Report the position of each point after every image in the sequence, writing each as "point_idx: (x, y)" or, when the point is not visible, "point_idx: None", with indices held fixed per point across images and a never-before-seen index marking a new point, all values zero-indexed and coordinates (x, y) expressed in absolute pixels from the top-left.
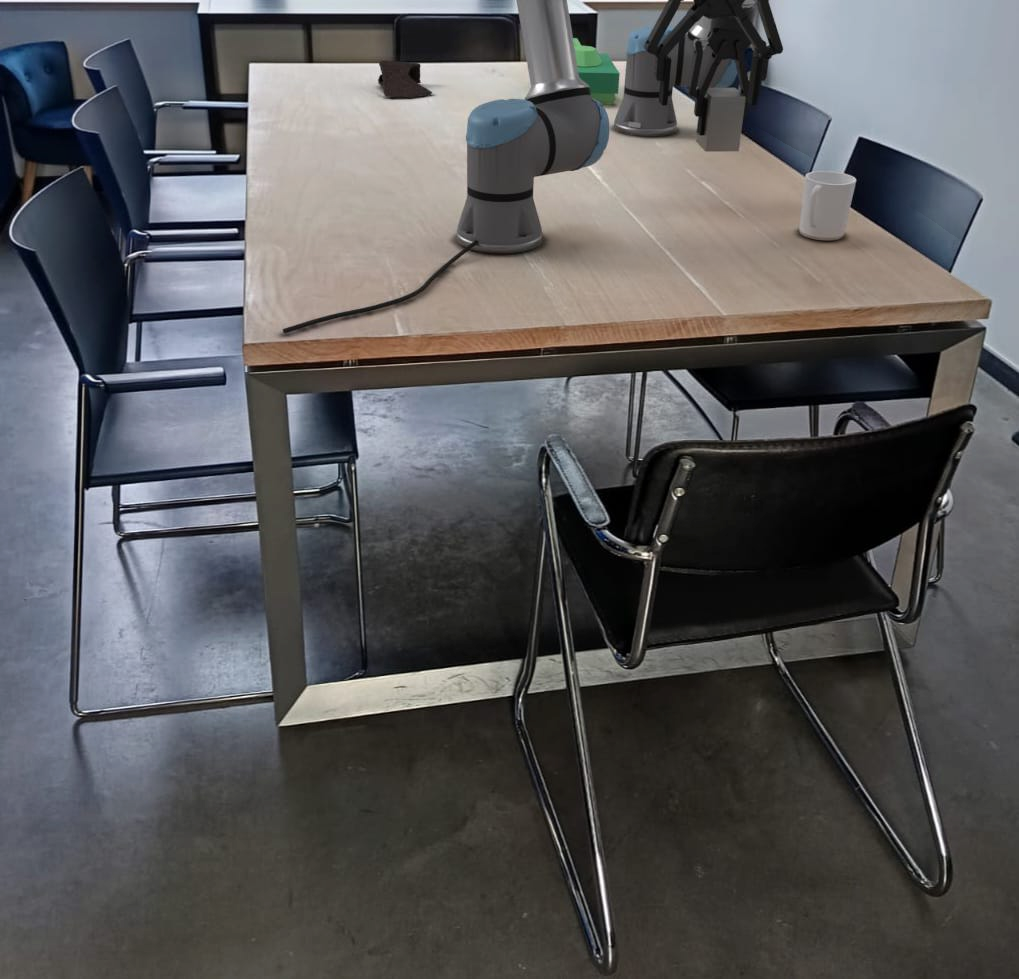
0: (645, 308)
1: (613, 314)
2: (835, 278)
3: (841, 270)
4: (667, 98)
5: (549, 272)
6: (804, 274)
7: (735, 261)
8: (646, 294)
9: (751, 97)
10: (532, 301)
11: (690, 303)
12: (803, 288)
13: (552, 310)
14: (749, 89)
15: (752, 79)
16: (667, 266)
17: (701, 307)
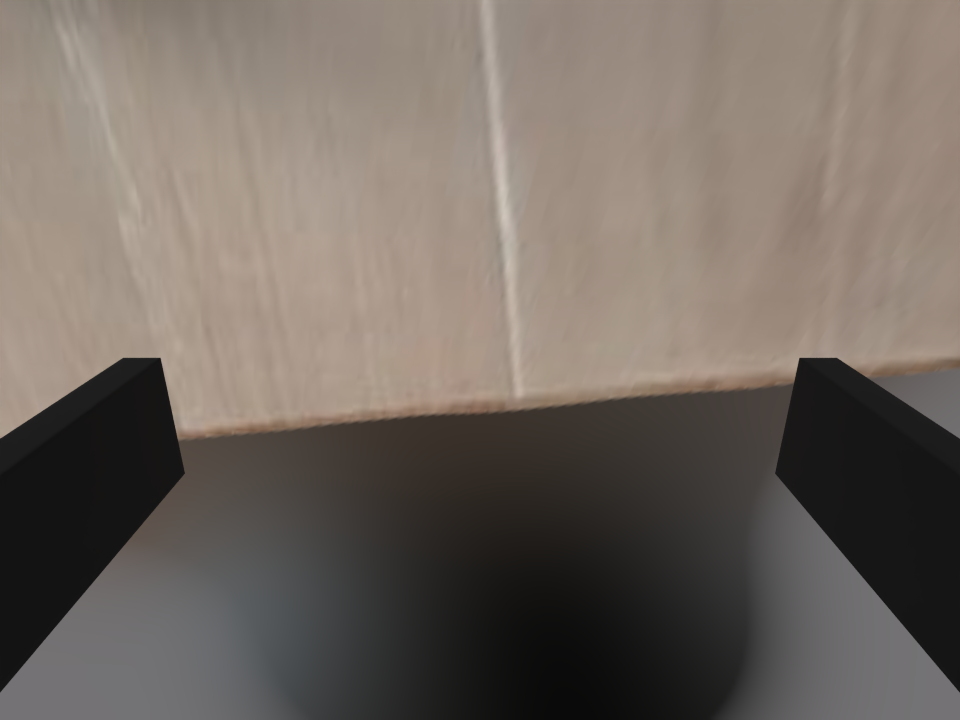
0: (354, 355)
1: (282, 383)
2: (880, 188)
3: (933, 126)
4: (159, 500)
5: (122, 107)
6: (814, 154)
7: (667, 33)
8: (368, 276)
9: (802, 479)
10: (100, 306)
11: (460, 333)
12: (760, 254)
13: (150, 357)
14: (845, 429)
15: (889, 528)
16: (456, 70)
17: (479, 355)
